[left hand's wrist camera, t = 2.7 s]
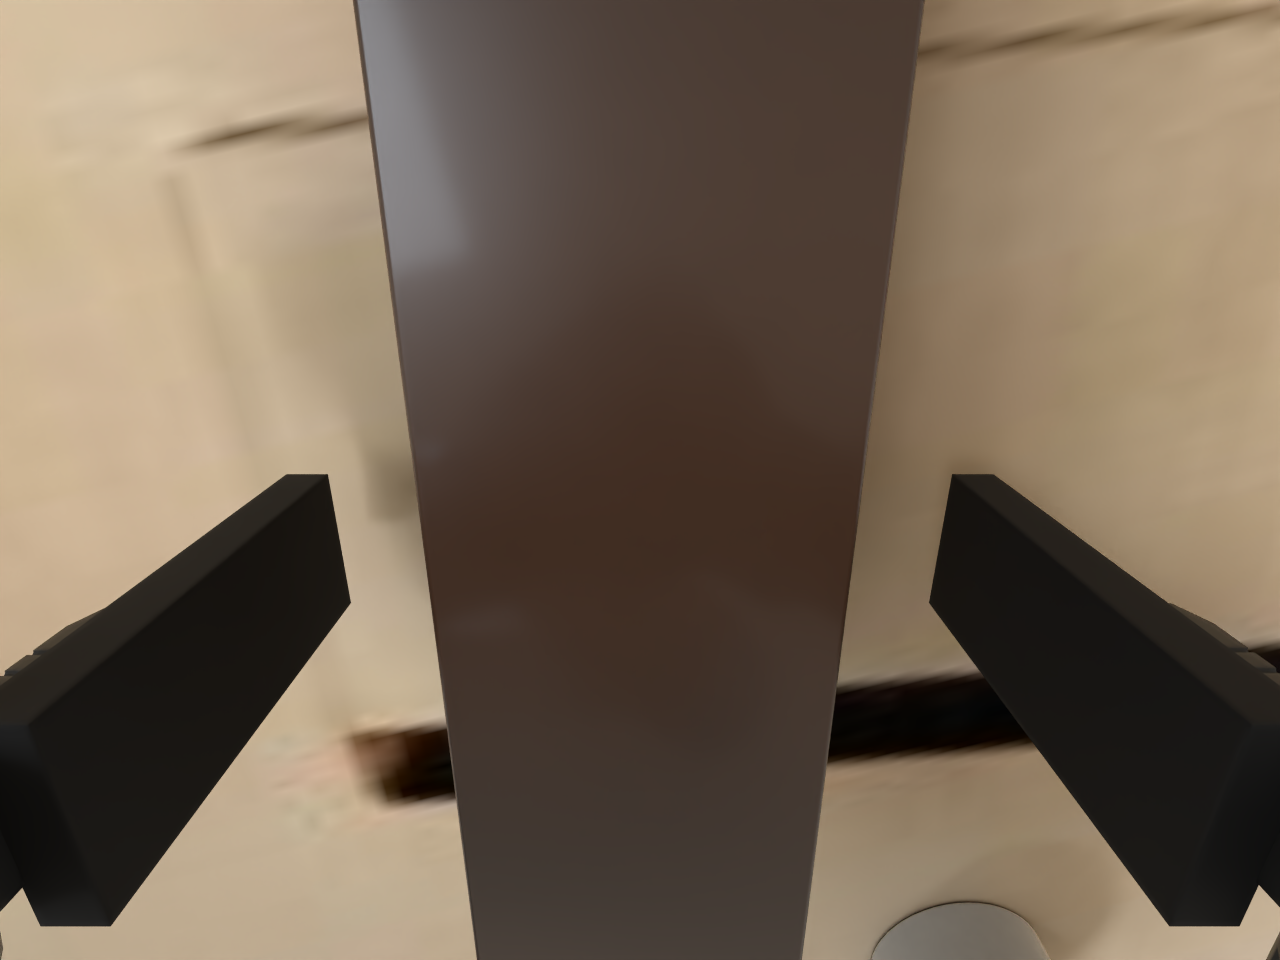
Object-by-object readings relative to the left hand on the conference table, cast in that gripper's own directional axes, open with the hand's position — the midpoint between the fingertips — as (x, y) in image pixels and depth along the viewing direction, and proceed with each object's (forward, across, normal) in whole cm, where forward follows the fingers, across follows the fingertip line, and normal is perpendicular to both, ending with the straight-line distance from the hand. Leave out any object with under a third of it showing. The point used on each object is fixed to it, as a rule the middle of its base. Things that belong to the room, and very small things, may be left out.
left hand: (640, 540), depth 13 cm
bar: (+2, 0, -9) cm, 9 cm away
